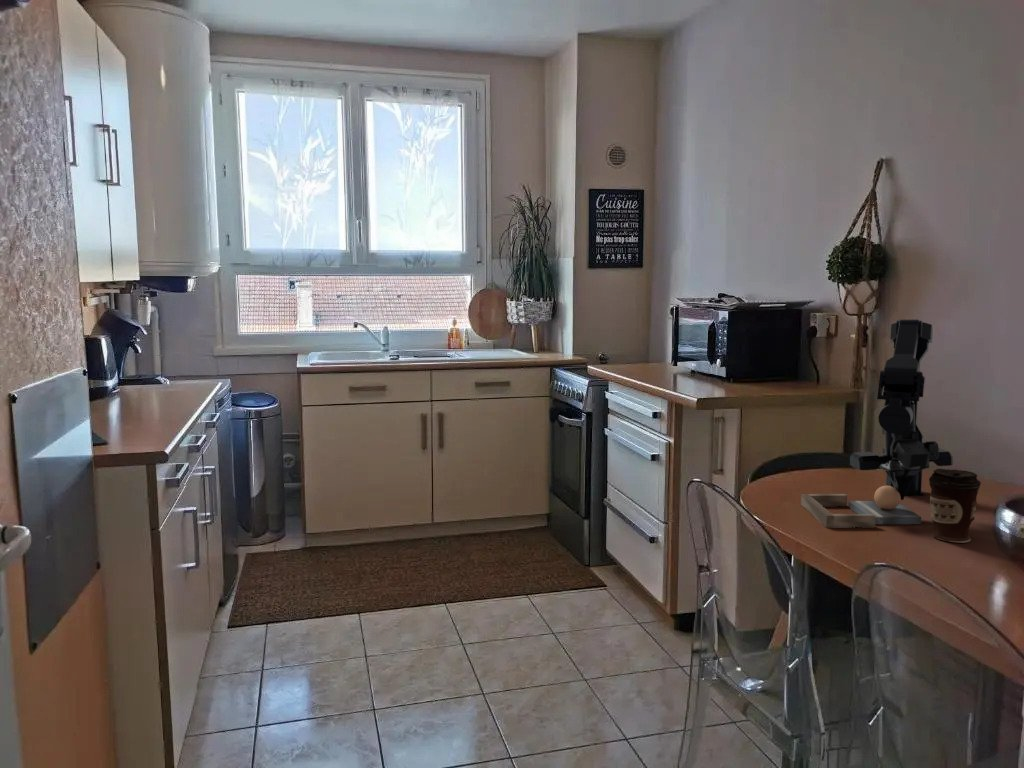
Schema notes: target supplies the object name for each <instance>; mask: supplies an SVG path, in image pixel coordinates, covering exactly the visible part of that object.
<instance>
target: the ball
mask: <svg viewBox="0 0 1024 768" xmlns="http://www.w3.org/2000/svg"><path fill="white" fill-rule="evenodd" d="M873 497H874V498H873V499H874V501H875V502H876V504H877V505H878V506H879V507H881V508H883V509H887V510H890V509H894V508H896V507H897V506H898V505H899V503H900V504H901V501H902V500H901V496H900V493H899V492H898V490H897V489H896V488H894V487H892V486H886V485H882V486H880V487H878V488H877V489H876V491H875V492H874V496H873Z"/></svg>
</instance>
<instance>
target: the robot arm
mask: <svg viewBox="0 0 1024 768" xmlns="http://www.w3.org/2000/svg"><path fill="white" fill-rule="evenodd" d="M933 329H934V328H933V325H932V324H931V323H927V322H924V321H923V320H919V319H914V318H913V319H912V318H911V319H908V318H907V319H903V318H902V319H899V320H896V322H894V323H891V324H890V336H889V340H890V342H891V343H893V349H894V351H893V355H892V357H891V358H889V359H887V360H885V362H884V368H883V370H881V369H880V371H879V380H878V388H877V396H876V398H877V400H883V401H885V402H884V403H883V408H882V409H881V411H880V412H879V414H878V423H879V426H880V427H881V428H882V429H881V434H882V435H884V447H883V448H882V454H883V455H881V454H880V455H878V454H876V453H873V452H871V451H858V452H857V451H856V452H852V454H851V455H850V457H849V465H850V466H852V467H853V468H855V469H856V470H859V471H873V470H875V471H876V470H878V468H879V469H880V470H881V469H882V470H883V471H885V472H886V473H885V474H886V478H885V479H886V481H885V482H886V483H885V484H886V485H885V486H892V487H894V488H896V489H897V490H898V492H899V493H900V496H901V500H900V501H904V500H905V496H907V495H914V496H915V495H925V494H926V493H925V491H924V490H922V488H923V487H922V485H923V484H922V483H923V470H926V469H929V468H930V463H931V462H932V463H934V464H935V465H936V466H937V467H945V466H946V467H948V466H950V467H951V466H953V465H954V457H953V455H952V453H951V452H950V451H948V450H946V449H943V448H940V447H939V444H938V442H937V441H935V440H933V441H924V440H925V439H924V434H923V432H922V430H921V428H920V427H919V425H918V413H919V412H918V409H919V407H918V406H919V402H920V400H921V399H920V398H924V392H925V384H926V383H925V382H926V377H925V376H924V373H923V371H921V361H922V360H923V358H924V357H925V356H926V355H927V353H928V352H929V347H930V343H933V333H934V332H933V331H934V330H933Z"/></svg>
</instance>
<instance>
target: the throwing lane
mask: <svg viewBox="0 0 1024 768" xmlns="http://www.w3.org/2000/svg"><path fill="white" fill-rule="evenodd" d="M800 497H801V498H800V505H802V506H801V507H802V508H803V509H805V508H806V509H807V510H806V509H805V510H806V511H807V512H808V511H809V512H810V513H811V514H812V515H811V514H810V513H809V512H808V513H809V514H810V515H811V516H813V517H814V518H815V519H816V520H817V521H818V523H820V524H821V525H822V526H824V527H825V528H827V529H829V528H830V529H833V528H834V529H837V528H838V529H839V528H841V529H842V528H843V529H850V528H851V529H854V528H855V527H859V528H858V529H861V528H860V527H862V529H864V528H866V529H867V528H868V529H869V528H870V529H871V528H872V529H873V528H876V525H921V524H922V516H920V515H918V513H917V512H914V511H913V510H911V509H909V508H908V507H907V506H905V505H903V504H901V502H900V503H899V505H898V506H897V507H896V508H894V509H890V510H887V509H883V508H881V507H879V506H878V505H877V504H876V502H875V500H848V495H847V494H846V493H815V494H814V493H801V495H800ZM823 506H824V507H823ZM837 506H842V507H848V509H849V508H850V510H851V511H852V512H853V511H854V512H853V513H832V512H831V511H830V510H828V509H827V508H825V507H829V508H830V507H833V508H834V507H835V508H836V507H837ZM856 513H857V514H856ZM852 527H853V528H852ZM855 529H856V528H855Z"/></svg>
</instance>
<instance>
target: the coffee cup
mask: <svg viewBox="0 0 1024 768" xmlns="http://www.w3.org/2000/svg"><path fill="white" fill-rule="evenodd" d="M928 481H929V487H930V491H931V492H930V494H929V498H930V499H929V506H930V519H931V521H932V527H933V528H932V529H933V530H932V533H931V534H932V537H933V538H936V539H938V540H939V541H941V540H942V541H945V542H949V543H958V544H959V543H961V544H965V543H969V542H971V540H972V539H971V536H970V534H969V532H970V531H969V530H970V527H971V525H972V523H973V521H975V515H976V511H977V506H978V504H977V496H978V494H979V492H980V491H979V490H980V487H981V483H982V482H981V481H980V480H979V479H978V474H977V473H975V472H972V471H968V470H962V469H946V468H937V469H934V470H933V472H932V474H931V475H930V476H929V478H928Z"/></svg>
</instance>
